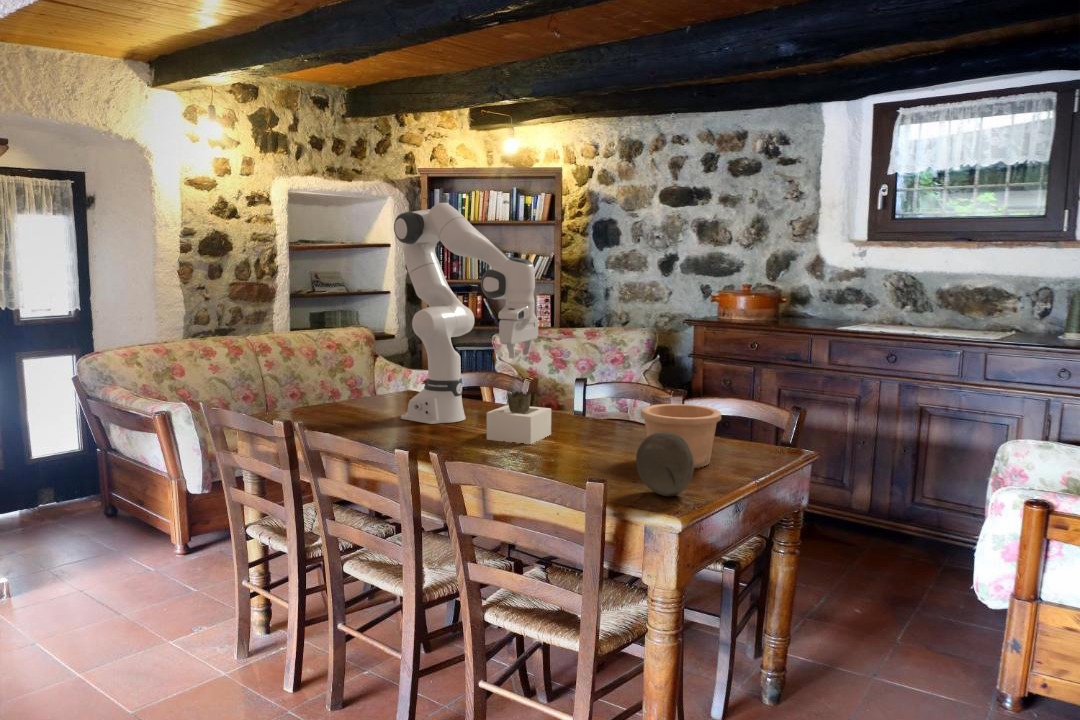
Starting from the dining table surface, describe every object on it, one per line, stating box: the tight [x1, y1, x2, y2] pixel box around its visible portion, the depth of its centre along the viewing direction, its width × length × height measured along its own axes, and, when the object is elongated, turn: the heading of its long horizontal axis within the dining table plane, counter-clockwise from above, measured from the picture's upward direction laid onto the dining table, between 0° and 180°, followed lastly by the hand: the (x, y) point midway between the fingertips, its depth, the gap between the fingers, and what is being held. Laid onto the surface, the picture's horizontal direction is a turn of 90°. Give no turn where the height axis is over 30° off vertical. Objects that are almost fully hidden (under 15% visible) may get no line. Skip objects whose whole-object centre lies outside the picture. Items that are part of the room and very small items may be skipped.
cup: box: [506, 390, 532, 414], centre depth 256 cm, size 8×7×8 cm
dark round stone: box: [635, 432, 695, 497], centre depth 197 cm, size 14×14×15 cm
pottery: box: [640, 403, 722, 469], centre depth 228 cm, size 22×22×14 cm
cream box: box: [486, 404, 552, 445], centre depth 257 cm, size 15×15×8 cm
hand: (519, 356), depth 254 cm, fingers open, 8 cm apart
